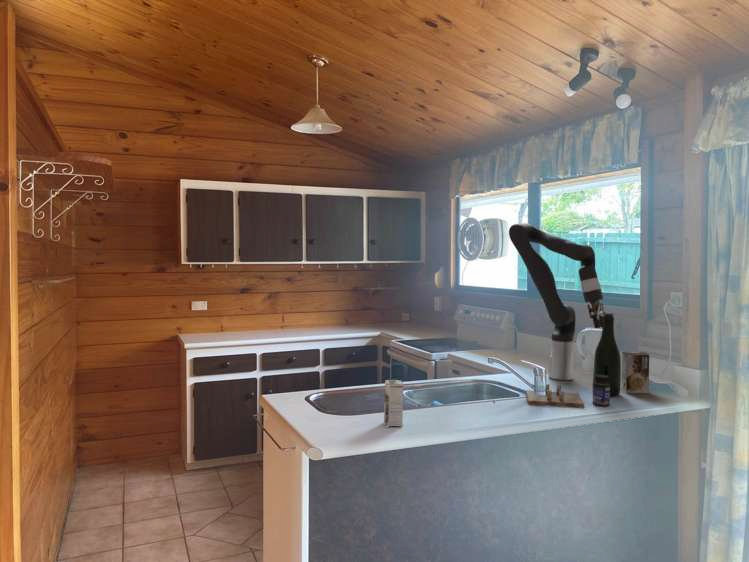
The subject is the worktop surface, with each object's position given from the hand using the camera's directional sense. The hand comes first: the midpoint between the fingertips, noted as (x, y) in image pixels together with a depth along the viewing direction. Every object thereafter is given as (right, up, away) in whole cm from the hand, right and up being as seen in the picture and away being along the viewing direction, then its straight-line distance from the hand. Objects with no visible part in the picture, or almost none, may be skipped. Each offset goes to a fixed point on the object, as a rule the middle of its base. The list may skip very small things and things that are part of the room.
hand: (600, 327), depth 250 cm
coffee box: (+12, -26, -6) cm, 29 cm away
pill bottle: (-10, -27, -26) cm, 39 cm away
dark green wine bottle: (-2, -26, -10) cm, 28 cm away
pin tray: (-26, -27, -21) cm, 43 cm away
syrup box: (-89, -28, -53) cm, 108 cm away
